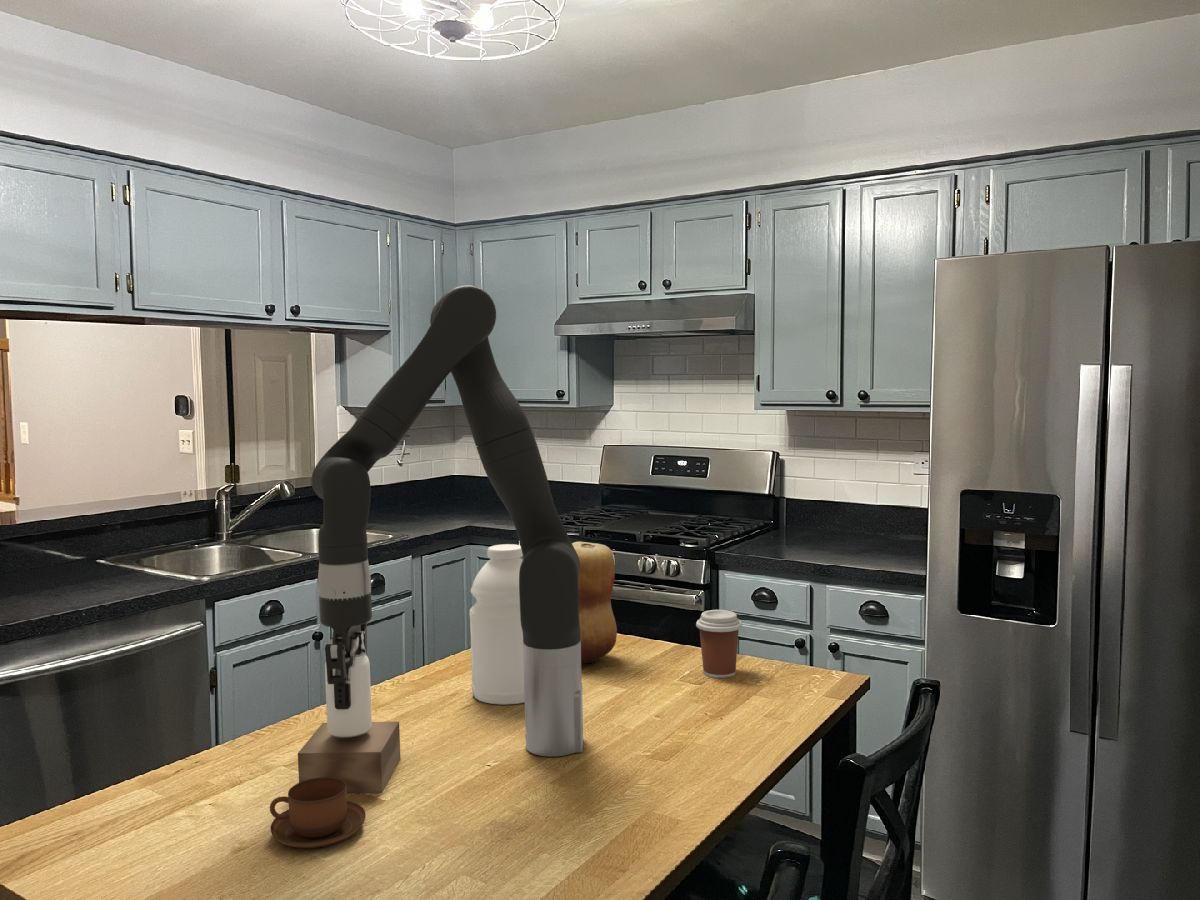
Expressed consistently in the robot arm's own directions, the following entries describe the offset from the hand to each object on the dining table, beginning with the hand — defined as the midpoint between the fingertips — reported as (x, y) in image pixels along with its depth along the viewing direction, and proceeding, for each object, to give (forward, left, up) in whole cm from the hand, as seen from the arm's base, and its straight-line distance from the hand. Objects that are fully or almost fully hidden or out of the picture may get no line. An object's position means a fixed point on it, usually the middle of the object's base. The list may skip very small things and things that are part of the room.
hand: (349, 699), depth 140 cm
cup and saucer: (0, +18, -12) cm, 22 cm away
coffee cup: (-61, -46, -12) cm, 77 cm away
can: (0, 0, -5) cm, 5 cm away
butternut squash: (-34, -55, -12) cm, 66 cm away
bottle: (-20, -36, -12) cm, 43 cm away
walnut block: (0, 0, -12) cm, 12 cm away
